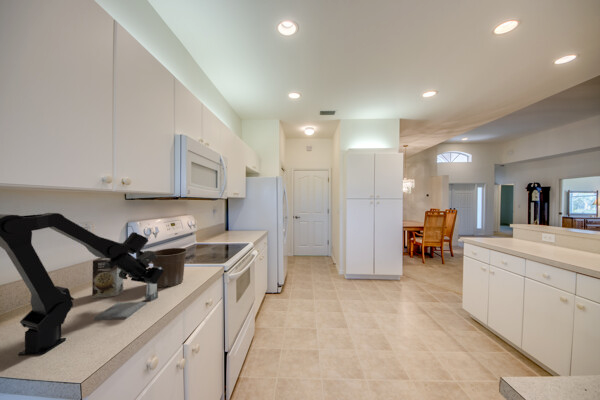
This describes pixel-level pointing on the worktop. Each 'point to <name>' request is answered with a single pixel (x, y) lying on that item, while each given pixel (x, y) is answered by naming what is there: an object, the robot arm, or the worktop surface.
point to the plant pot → (170, 266)
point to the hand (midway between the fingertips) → (154, 282)
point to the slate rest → (120, 310)
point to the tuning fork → (151, 292)
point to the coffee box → (105, 280)
